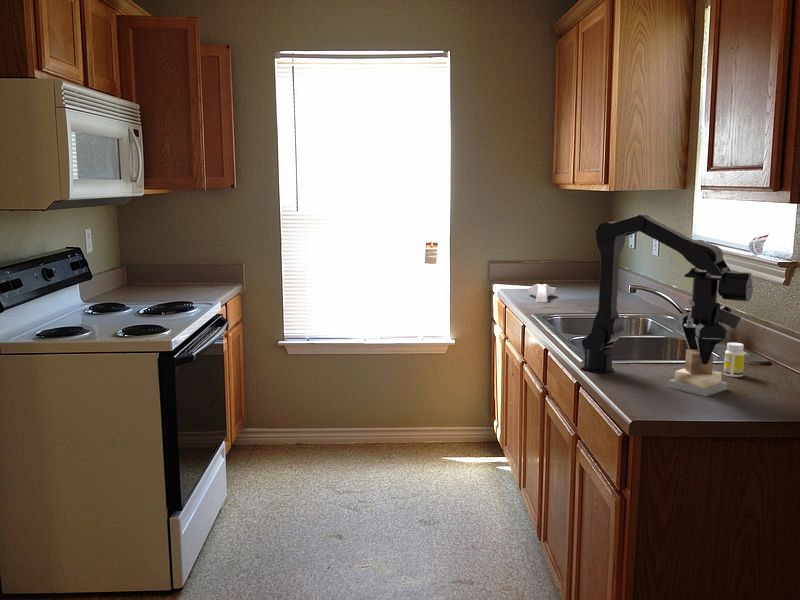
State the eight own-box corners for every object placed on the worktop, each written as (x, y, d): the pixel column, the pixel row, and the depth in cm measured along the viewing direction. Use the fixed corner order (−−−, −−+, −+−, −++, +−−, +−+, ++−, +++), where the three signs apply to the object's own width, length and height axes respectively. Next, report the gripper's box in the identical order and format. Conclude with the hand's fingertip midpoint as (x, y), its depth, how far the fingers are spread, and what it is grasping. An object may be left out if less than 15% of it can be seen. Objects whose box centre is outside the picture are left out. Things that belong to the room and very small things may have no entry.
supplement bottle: (744, 374, 203) (747, 343, 202) (741, 378, 199) (743, 346, 198) (725, 371, 206) (727, 341, 204) (721, 375, 202) (724, 344, 200)
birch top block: (674, 380, 189) (674, 370, 189) (690, 375, 194) (691, 366, 194) (704, 387, 183) (705, 377, 183) (721, 382, 188) (721, 372, 188)
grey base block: (667, 390, 190) (668, 380, 189) (688, 383, 196) (689, 374, 196) (705, 399, 182) (706, 389, 182) (726, 392, 188) (727, 382, 188)
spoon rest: (526, 294, 339) (527, 278, 338) (553, 295, 337) (554, 279, 336) (527, 302, 316) (528, 285, 315) (556, 304, 314) (557, 286, 313)
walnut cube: (690, 373, 186) (692, 353, 185) (684, 368, 191) (686, 349, 190) (711, 374, 186) (713, 354, 185) (705, 369, 190) (706, 349, 190)
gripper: (752, 304, 175) (746, 370, 178) (725, 292, 194) (720, 352, 196) (702, 302, 176) (697, 368, 179) (680, 291, 195) (676, 350, 197)
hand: (699, 359), depth 188 cm, fingers open, 9 cm apart
